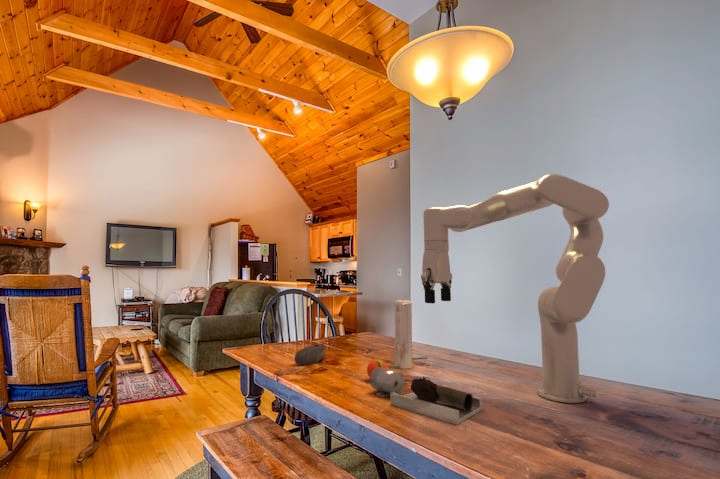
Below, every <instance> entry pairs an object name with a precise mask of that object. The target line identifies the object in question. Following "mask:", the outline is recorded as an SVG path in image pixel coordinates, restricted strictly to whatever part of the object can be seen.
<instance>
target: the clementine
mask: <svg viewBox="0 0 720 479" xmlns="http://www.w3.org/2000/svg"><path fill="white" fill-rule="evenodd" d="M366 367H367V368H366V373H367V376H368V377H369V378H370V377H371V373H372V371H373V370H374V369H375V368H377V367H380V368H384V369H388V365H387V364H386V362H385V361H384V360H382V359H380V358H375V359H372V360H370V361H369V363H368V364H367V366H366Z"/></svg>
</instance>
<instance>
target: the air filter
mask: <svg viewBox="0 0 720 479" xmlns="http://www.w3.org/2000/svg"><path fill="white" fill-rule="evenodd" d="M412 307H413V306H412V303H411V300H405V299H403V300H401V299H399V300H395V302H394V367H395V368H396V369H402V370H404V369H406V370H407V369H412V368H413V330H412V329H413V326H412V325H413V324H412V323H413V321H412V318H413V316H412V314H413V311H412V310H413V309H412Z"/></svg>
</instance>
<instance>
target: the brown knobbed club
mask: <svg viewBox="0 0 720 479" xmlns="http://www.w3.org/2000/svg"><path fill="white" fill-rule="evenodd" d="M410 390H411V391H412V392H413V393H415V395H417V397H418V399H419V400H423V401H426V402H430V403H431V402H436V401H437V400H438V401H441V402H444V403H447V404H449V405H452V406H455V407H458V408H461V409H464V410H470V409H471V407H472V404H473V400H472V399H473V396H474V395H473V394H472V393H470V392H465V391H461V390H459V389H456V388H452V387H449V386H448V387H447V386H444V385H438V384H436V383H434V382H433V381H431V379H426V377H422V378H421V377H419V378H413V379H412V381H411V385H410Z"/></svg>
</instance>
